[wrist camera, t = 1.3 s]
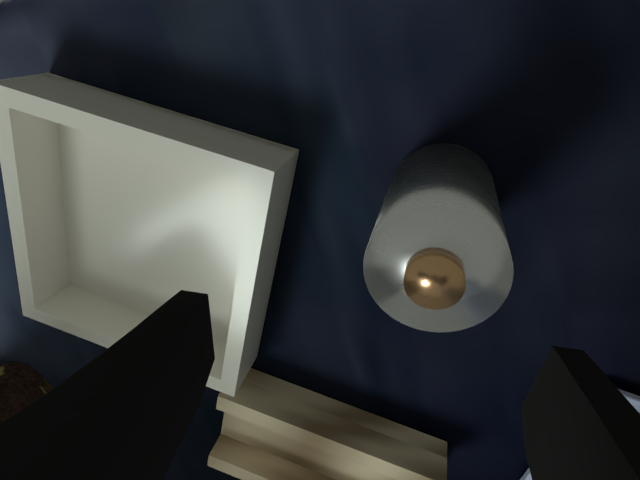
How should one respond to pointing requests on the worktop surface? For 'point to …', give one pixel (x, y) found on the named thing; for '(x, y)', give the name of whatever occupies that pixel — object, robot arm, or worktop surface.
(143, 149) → the dish
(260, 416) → the trough
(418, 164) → the cylinder
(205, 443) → the worktop surface
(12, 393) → the book
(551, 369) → the robot arm
